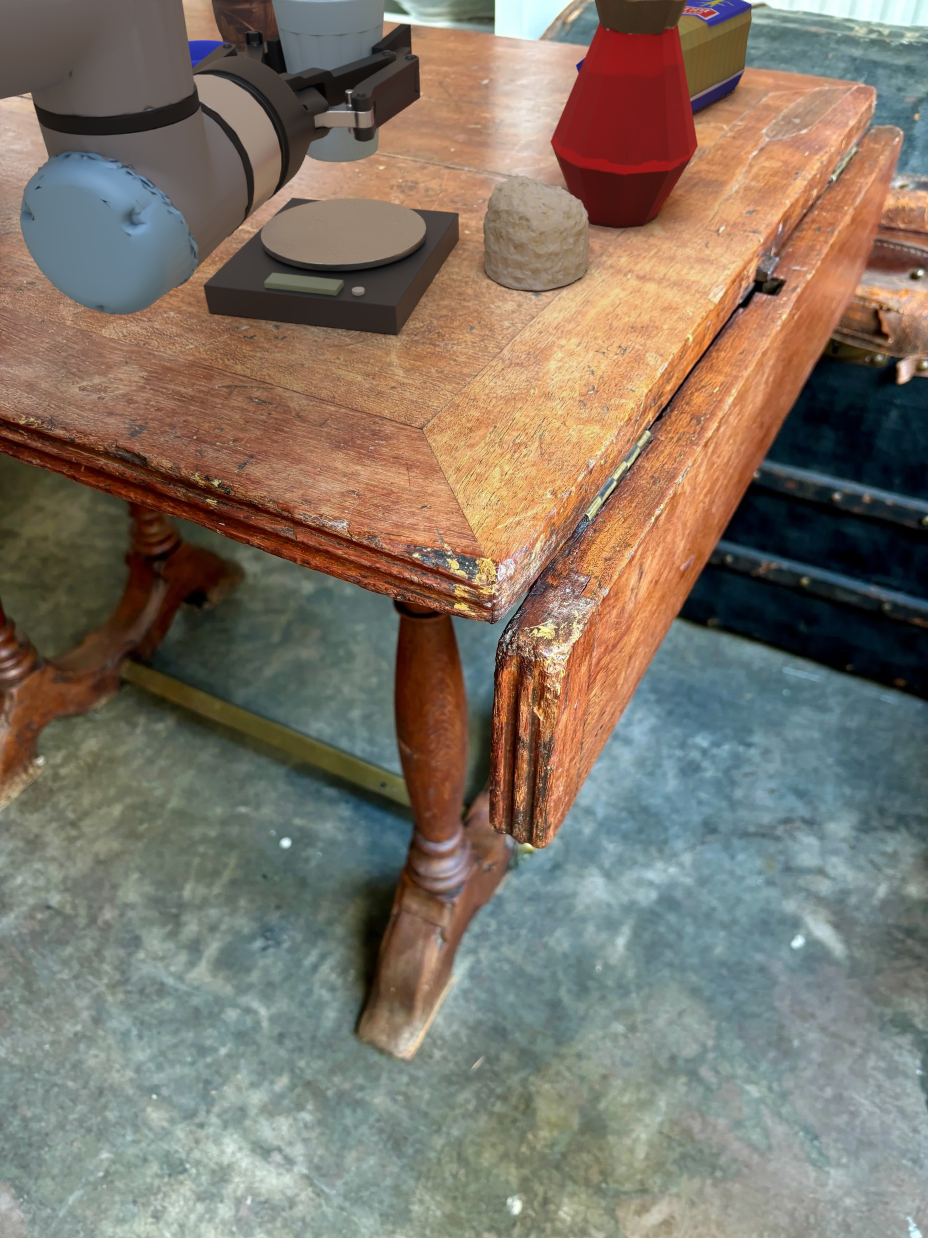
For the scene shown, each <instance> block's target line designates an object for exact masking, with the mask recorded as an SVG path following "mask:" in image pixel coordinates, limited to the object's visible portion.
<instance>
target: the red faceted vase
mask: <svg viewBox="0 0 928 1238" xmlns="http://www.w3.org/2000/svg"><path fill="white" fill-rule="evenodd" d="M687 1H688V0H594V3H595V8H596V12H597V16H598V21H599V23H598V25H597V28H596V30H595V32H594V35H593V38H592V40H591V42H590V44H589V47H588V49H587V52H586V54H585V57H584V58H585V59H584V58H583V59H584V62H583V64H582V66H581V69H580V71H579V73H578V74H577V77H576V79H575V81H574V83H573V86H572V89H571V91H570V93H569V96H568V98H567V100H566V103H565V105H564V107H563V110H562V112H561V114H560V118H559V119H558V122H557V125H556V127H555V130H554V131H553V134H552V137H551V139H550V144H551V147H552V150H553V152H554V155H555V158H556V160H557V163H558V166H559V168H560V171H561V174H562V177H563V179H564V182H565V185H566V187H567V189H568V192H569V193H570V194H571V195H573V196H574V197H575V198H577V199H579V200H581V202H582V203H583V206H584V208H585V210H586V211H587V213H588V217H587V218H588V221H589V224H591V225H596V226H601V227H607V228H614V229H621V228H620V227H624V228H631V227H630V226H635V227H643V226H646V225H647V224H650V222H652V221H654V220H656V219H657V217H658V215H659V213H660V212H661V211H662V209H663V207H664V205H665V203H666V202H667V200H668V198H669V196H670V195H671V193H672V192H673V190H674V189H675V187H676V185H677V184H678V181H679V180H680V178H681V177H682V175H683V173H684V171H685V170H686V168H687V167H688V165H689V163H690V161H691V160H692V158H693V156H694V154H695V152H696V150H697V149H698V146H699V144H698V138H697V131H696V126H695V120H694V113H693V114H692V108H691V102H690V95H689V89H688V83H687V77H686V71H685V65H684V59H683V53H682V47H681V41H680V35H679V29H678V22H679V20H680V17H681V15H682V13H683V10H684V8H685V6H686V4H687ZM642 225H643V226H642Z"/></svg>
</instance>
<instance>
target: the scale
mask: <svg viewBox="0 0 928 1238" xmlns="http://www.w3.org/2000/svg"><path fill="white" fill-rule="evenodd" d="M323 200H324V199H323ZM323 200H321V199H312V198H311V199H310V198H302V197H301V198H300V197H291V198H290V199H289V200H288V201H287V202H286V203H285V204H284V205H283V206H282V207H281V208H280V209H279V210H278V211H277V212H275V214H274V215H273V216H272V217H271V218H273V217H274V216H276V215H277V214H279V213H281V212H283V211H285V210H288V209H291V208H293V207H296V206H299V205H303V204H307V203H311V202H317V201H323ZM409 209H411V210H413V211H414V212H416V213H417V214H418V215H420V216H421V217H422V219H423V220H424V222H425V224H426V238H425V240H424V242H423V244H422V245H421V246H420V247H419V248H418V249H417V250H416V251H415V252H413V253H411V254H410V255H408V256H406V257H404V258H402V259H400V260H397V261H394V262H391V263H388V264H385V265H381V266H376V267H372V268H365V269H358V270H345V271H325V270H313V269H306V268H301V267H296V266H292V265H289V264H286V263H284V262H281V261H279V260H277V259H275V258H273V257H272V256H271V255H269V254H268V253H267V252H266V251H265V249H264V247H263V245H262V240H261V231H262V229H263V227H264V225H263V226H262V227H261V228H260V229H258V231H257V232H255V234H254V235H252V237H250V238H249V239H248V241H247V242H245V244H243V245H242V246H241V247H240V248H239V249H238V250H237V252H235V253H234V254H233V255H232V256H231V257H230V258H229V259H228V260H227V261H226V262H225V263H224V264H223V265H222V266H221V267H219V269H218V270H217V271H216V272H215V273H214V274H213V275H212V276H211V277H209V279H208V280H207V281H206V282H205V283H204V284H203V290H204V296H205V300H206V305H207V310H208V314H214V315H225V316H233V317H241V318H248V319H258V320H265V321H275V322H283V323H292V324H293V323H294V324H301V325H309V326H318V327H325V328H326V327H327V328H335V329H344V330H351V331H360V332H368V333H378V334H386V335H387V334H388V335H395V336H396V335H398V334H399V333H400V331H401V330H402V328H403V327H404V325H405V323H406V322H407V320H408V319H409V317H410V316H411V314H412V313H413V311H414V309H415V308H416V306H417V305H418V303H419V302H420V300H421V298H422V297H423V295H424V294H425V292H426V291H427V289H428V287H429V286H430V285H431V283H432V282H433V280H434V278H435V277H436V275H437V274H438V273H439V271H440V270H441V268H442V266H443V265H444V263H445V261H446V260H447V258H448V257H449V255H450V254H451V252H452V250H454V247H455V246H456V244H457V243H458V241H459V240H460V214H459V212H451V211H441V210H432V209H419V208H410V207H409Z"/></svg>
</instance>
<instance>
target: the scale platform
mask: <svg viewBox="0 0 928 1238" xmlns="http://www.w3.org/2000/svg"><path fill="white" fill-rule="evenodd" d="M409 208H410V207H409ZM409 208H408V207H407V206H404V205H401V204H398V203H395V202H390V201H386V200H379V199H373V198H362V197H361V198H358V197H357V198H354V197H353V198H352V197H349V198H348V197H346V198H332V199H323V201H317V202H311V203H307V204H303V205H299V206H296V207H293V208H291V209H288V210H285V211H283V212H281V213H279V214H277V215H276V216H274V215H273V216H274V217H273V216H272V217H273V218H272V217H271V218H270V219H268V221H266V223H265V224H264V225H263V226H264V227H263V226H262V227H263V229H262V231H261V240H262V245H263V247H264V249H265V251H266V252H267V253H268V254H269V255H271V256H272V257H273V258H275V259H277V260H279V261H281V262H284V263H286V264H289V265H292V266H296V267H301V268H306V269H313V270H325V271H345V270H358V269H365V268H372V267H376V266H381V265H385V264H388V263H391V262H394V261H397V260H400V259H402V258H404V257H406V256H408V255H410V254H411V253H413V252H415V251H416V250H417V249H418V248H419V247H420V246H421V245H422V244H423V242H424V240H425V238H426V224H425V222H424V220H423V219H422V217H421V216H420V215H418V214H417V213H416V212H414V211H413V210H411V209H412V208H410V209H409Z"/></svg>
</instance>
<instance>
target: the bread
mask: <svg viewBox="0 0 928 1238" xmlns="http://www.w3.org/2000/svg"><path fill="white" fill-rule="evenodd" d="M752 7H753V5H752V3H750V2H747V1H745V0H688V1H687V4H686V6H685V8H684V10H683V13H682V15H681V17H680V20H679V22H678V29H679V35H680V41H681V47H682V53H683V59H684V65H685V71H686V77H687V83H688V89H689V95H690V102H691V108H692V114H693V115H694V114H695V113H698V112H699V111H701V110H703V109H704V108H706V107H708V106H710V105H712V104H713V103H715V102H717V101H719V100H720V98H721V99H722V98H724V97H726V96H728V95H729V93H730V94H731V93H733V92H734V91H735V90H736V88H737V87H738V85H739V83H740V81H741V79H742V77H743V75H744V72H745V70H746V69H745V68H746V56H747V48H748V42H749V41H748V40H749V34H750V29H751V26H752V21H753V18H752ZM584 59H585V57H583V58H582V59H581V60H580V61H579V62H578V63H576V64H575V68H576V70H577V73H578V74H579V71H580V69H581V66H582V64H583V62H584ZM732 91H733V92H732ZM727 94H728V95H727ZM725 95H726V96H725ZM723 96H724V97H723ZM718 99H719V100H718ZM711 103H712V104H711ZM709 104H710V105H709ZM702 108H703V109H702Z"/></svg>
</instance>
